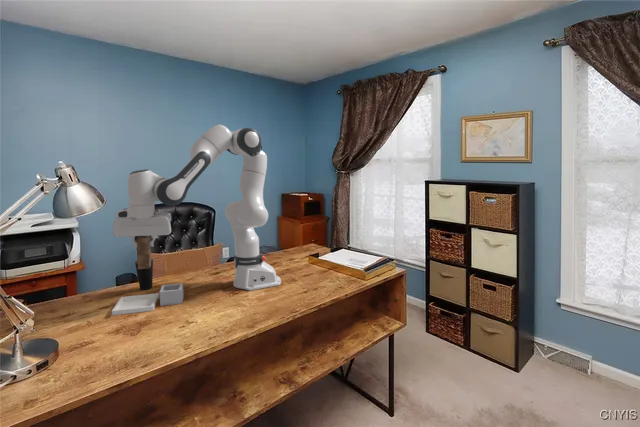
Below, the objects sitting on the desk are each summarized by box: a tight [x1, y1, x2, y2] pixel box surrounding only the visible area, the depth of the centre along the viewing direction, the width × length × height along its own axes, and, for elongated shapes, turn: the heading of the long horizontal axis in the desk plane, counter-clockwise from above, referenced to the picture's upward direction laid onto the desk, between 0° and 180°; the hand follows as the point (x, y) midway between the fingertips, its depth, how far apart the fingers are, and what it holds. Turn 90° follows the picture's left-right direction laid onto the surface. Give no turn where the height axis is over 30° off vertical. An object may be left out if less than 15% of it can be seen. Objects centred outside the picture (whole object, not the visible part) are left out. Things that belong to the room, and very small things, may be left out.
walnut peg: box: [136, 236, 152, 269], centre depth 135 cm, size 4×4×12 cm
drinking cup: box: [134, 258, 154, 291], centre depth 154 cm, size 8×8×20 cm
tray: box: [111, 292, 160, 316], centre depth 136 cm, size 14×14×2 cm
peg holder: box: [159, 283, 184, 307], centre depth 141 cm, size 8×8×6 cm
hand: (143, 246), depth 134 cm, fingers closed on walnut peg, 4 cm apart
